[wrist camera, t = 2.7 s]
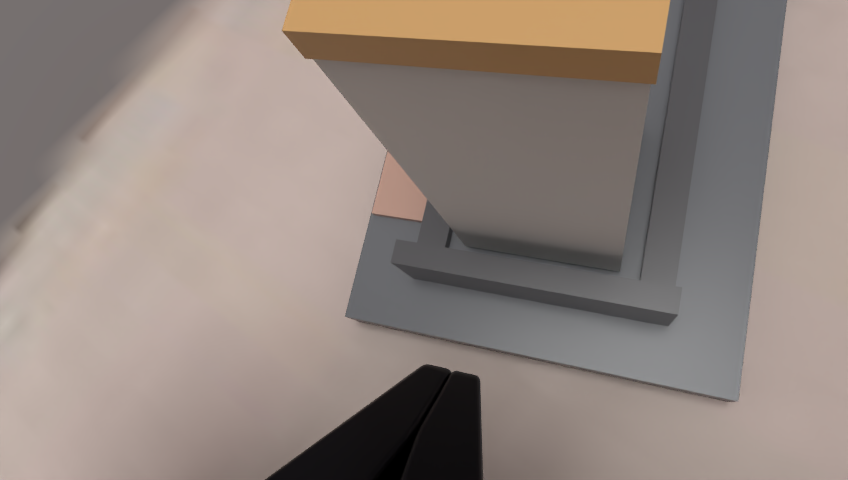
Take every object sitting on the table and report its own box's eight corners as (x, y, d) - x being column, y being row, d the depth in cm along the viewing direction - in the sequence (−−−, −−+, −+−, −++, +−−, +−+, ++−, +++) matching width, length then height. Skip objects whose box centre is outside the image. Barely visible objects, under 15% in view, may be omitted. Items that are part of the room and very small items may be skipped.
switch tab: (621, 274, 15) (662, 54, 6) (463, 247, 16) (282, 30, 7) (646, 122, 16) (717, -290, 7) (494, 108, 17) (368, -256, 8)
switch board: (729, 401, 15) (759, 400, 12) (358, 320, 18) (314, 305, 15) (790, -86, 18) (826, -179, 15) (459, -84, 21) (437, -161, 18)
